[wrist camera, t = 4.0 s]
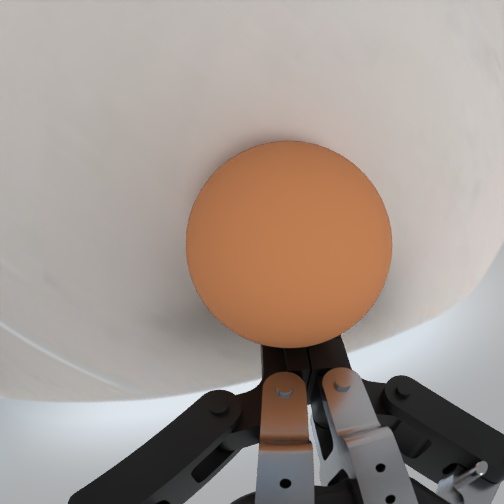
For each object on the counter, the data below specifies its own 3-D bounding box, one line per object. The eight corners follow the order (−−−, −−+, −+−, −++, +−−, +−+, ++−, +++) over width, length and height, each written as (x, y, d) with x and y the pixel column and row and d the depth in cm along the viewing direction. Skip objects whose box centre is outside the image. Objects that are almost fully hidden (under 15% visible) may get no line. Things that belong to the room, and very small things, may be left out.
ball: (305, 302, 13) (337, 408, 7) (180, 249, 12) (132, 346, 6) (375, 186, 11) (471, 237, 5) (242, 112, 10) (237, 84, 4)
